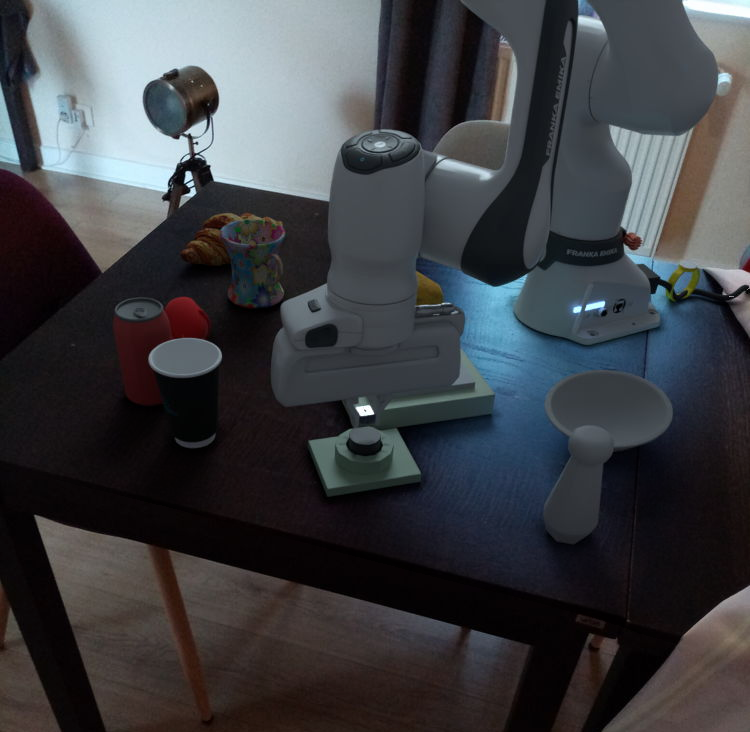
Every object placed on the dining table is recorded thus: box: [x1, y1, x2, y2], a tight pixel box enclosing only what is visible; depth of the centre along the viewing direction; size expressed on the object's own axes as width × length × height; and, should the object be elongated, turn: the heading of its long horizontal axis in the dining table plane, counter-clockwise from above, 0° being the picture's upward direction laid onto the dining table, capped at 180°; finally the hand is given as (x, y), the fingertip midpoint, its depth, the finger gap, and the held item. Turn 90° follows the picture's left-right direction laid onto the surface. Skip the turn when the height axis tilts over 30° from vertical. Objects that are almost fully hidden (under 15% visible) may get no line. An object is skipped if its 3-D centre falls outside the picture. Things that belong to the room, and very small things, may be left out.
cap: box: [163, 296, 211, 341], centre depth 107 cm, size 8×6×6 cm
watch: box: [664, 260, 701, 303], centre depth 125 cm, size 6×3×6 cm, turn 120°
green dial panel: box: [307, 427, 422, 498], centre depth 90 cm, size 11×9×3 cm
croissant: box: [180, 212, 284, 267], centre depth 130 cm, size 21×10×8 cm, turn 139°
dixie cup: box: [148, 338, 223, 449], centre depth 90 cm, size 8×8×11 cm
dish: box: [544, 369, 674, 452], centre depth 95 cm, size 18×14×5 cm
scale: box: [341, 347, 496, 430], centre depth 102 cm, size 18×16×4 cm
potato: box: [416, 270, 444, 306], centre depth 117 cm, size 7×14×7 cm, turn 39°
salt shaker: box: [542, 425, 614, 545], centre depth 80 cm, size 6×6×13 cm
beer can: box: [112, 297, 172, 407], centre depth 95 cm, size 7×7×12 cm
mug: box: [220, 219, 286, 310], centre depth 115 cm, size 12×9×11 cm
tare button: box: [349, 426, 381, 456], centre depth 89 cm, size 4×4×2 cm
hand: (364, 423), depth 87 cm, fingers closed
